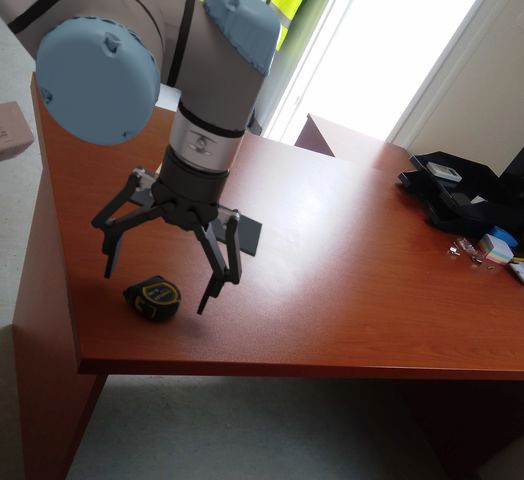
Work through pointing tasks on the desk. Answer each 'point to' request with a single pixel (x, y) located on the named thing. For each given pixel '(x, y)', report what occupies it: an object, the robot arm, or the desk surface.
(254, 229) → the mat
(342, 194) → the desk surface
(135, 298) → the tape measure
